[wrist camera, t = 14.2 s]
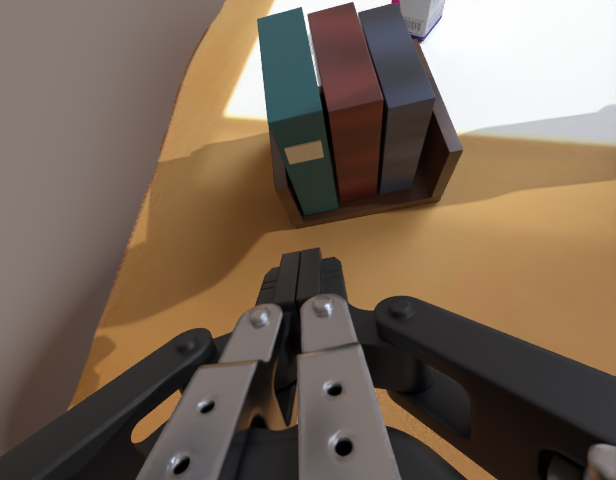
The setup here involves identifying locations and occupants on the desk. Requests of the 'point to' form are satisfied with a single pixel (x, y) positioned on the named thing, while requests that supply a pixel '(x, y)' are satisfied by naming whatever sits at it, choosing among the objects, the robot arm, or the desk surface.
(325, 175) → the book
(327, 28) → the book rack
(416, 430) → the desk surface
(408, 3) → the supplement box
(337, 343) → the robot arm
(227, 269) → the desk surface
